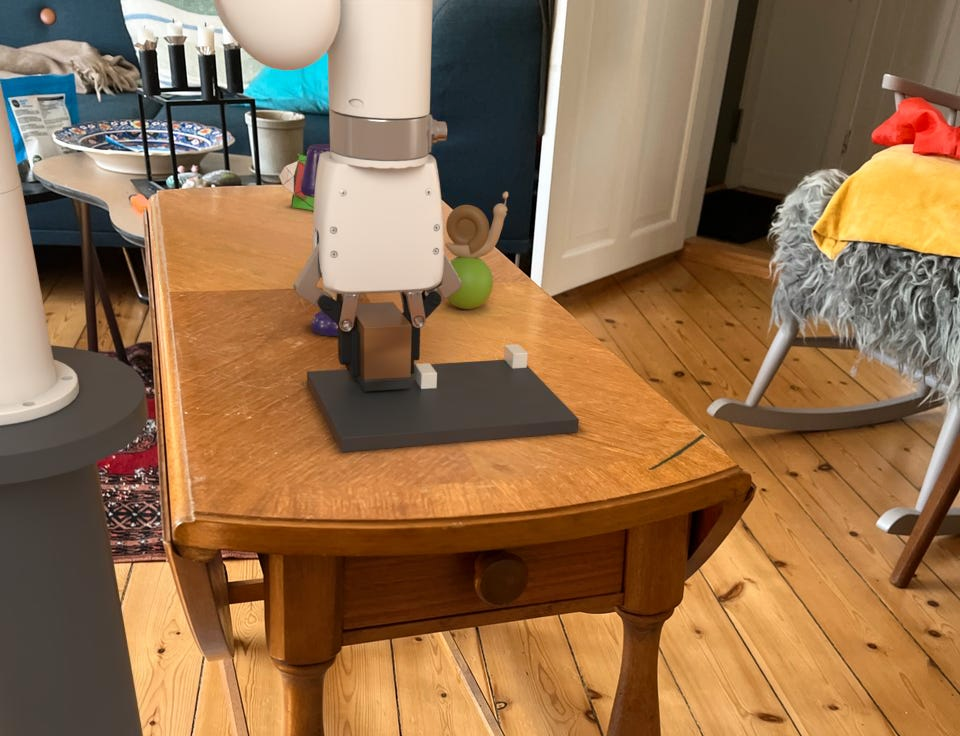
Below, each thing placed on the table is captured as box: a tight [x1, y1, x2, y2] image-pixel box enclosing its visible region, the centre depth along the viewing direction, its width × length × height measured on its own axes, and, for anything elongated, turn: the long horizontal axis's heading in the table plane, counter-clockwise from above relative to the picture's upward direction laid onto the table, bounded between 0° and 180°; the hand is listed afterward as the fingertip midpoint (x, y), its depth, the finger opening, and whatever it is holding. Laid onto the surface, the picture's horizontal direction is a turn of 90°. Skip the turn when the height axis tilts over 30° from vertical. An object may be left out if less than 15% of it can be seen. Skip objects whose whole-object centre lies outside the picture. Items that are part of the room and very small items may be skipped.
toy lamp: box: [301, 143, 338, 337], centre depth 98 cm, size 5×5×17 cm
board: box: [306, 359, 580, 453], centre depth 88 cm, size 20×14×1 cm
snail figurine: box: [444, 191, 509, 310], centre depth 107 cm, size 5×6×12 cm
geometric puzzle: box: [278, 153, 314, 212], centre depth 140 cm, size 7×7×8 cm
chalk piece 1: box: [414, 362, 437, 389], centre depth 89 cm, size 1×2×1 cm, turn 18°
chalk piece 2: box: [503, 343, 529, 369], centre depth 94 cm, size 1×2×1 cm, turn 18°
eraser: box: [355, 301, 412, 392], centre depth 88 cm, size 4×6×6 cm, turn 18°
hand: (379, 368), depth 89 cm, fingers closed on eraser, 4 cm apart
